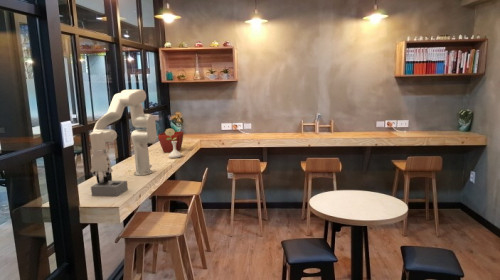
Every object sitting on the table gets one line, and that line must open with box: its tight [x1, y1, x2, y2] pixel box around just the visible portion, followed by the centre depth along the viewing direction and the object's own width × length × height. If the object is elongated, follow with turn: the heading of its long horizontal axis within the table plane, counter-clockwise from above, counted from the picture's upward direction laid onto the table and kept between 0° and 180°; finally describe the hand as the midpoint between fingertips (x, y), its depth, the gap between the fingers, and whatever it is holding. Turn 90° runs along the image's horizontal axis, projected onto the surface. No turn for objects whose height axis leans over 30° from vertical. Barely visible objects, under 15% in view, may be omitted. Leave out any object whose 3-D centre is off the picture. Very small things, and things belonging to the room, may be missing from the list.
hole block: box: [90, 180, 129, 197], centre depth 202 cm, size 12×16×6 cm
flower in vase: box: [164, 128, 183, 159], centre depth 287 cm, size 13×11×25 cm
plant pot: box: [157, 131, 184, 153], centre depth 313 cm, size 19×19×17 cm
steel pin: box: [98, 171, 107, 185], centre depth 202 cm, size 4×4×11 cm
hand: (102, 182), depth 202 cm, fingers closed on steel pin, 3 cm apart
